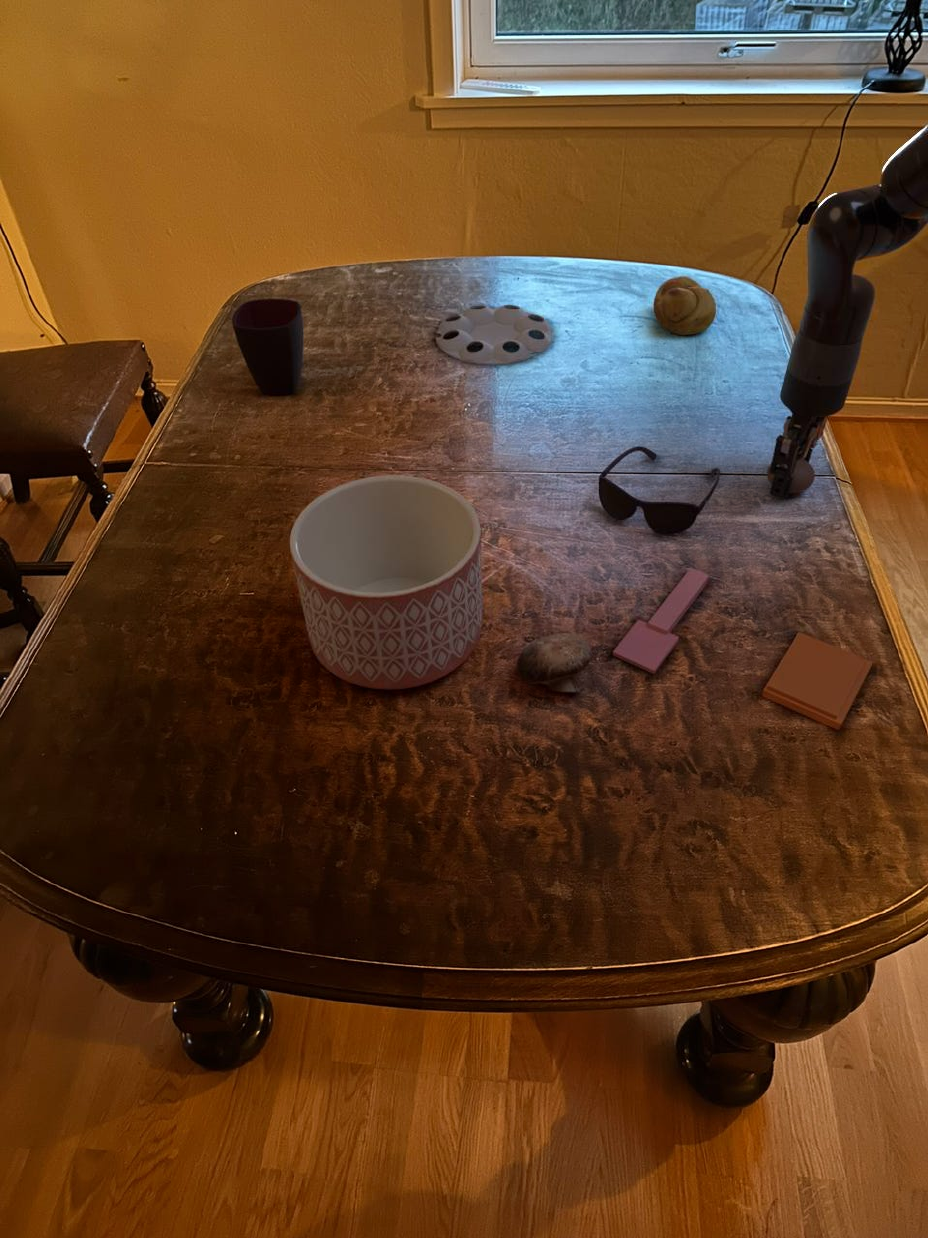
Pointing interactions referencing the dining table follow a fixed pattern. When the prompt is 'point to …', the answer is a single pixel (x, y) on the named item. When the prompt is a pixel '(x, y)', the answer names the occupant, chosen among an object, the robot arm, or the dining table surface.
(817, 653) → the brown flat block
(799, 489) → the egg
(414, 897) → the dining table surface
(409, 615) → the planter
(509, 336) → the paint palette
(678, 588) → the spatula
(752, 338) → the dining table surface
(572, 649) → the mushroom
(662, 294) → the bread roll
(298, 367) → the cup
